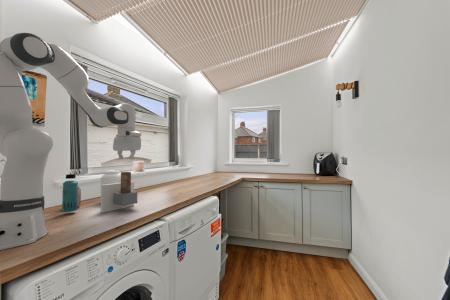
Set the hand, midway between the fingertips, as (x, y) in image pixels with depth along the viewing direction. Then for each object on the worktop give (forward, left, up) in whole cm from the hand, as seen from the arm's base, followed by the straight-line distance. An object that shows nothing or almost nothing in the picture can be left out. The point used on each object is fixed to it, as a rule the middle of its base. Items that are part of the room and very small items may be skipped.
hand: (126, 159), depth 115 cm
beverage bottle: (-19, +18, -28) cm, 38 cm away
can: (+8, +27, -28) cm, 39 cm away
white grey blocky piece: (0, +2, -27) cm, 28 cm away
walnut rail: (0, 0, -23) cm, 23 cm away
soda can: (-13, +29, -28) cm, 42 cm away
